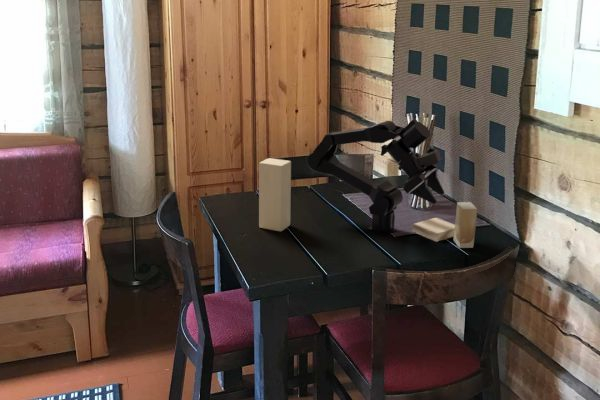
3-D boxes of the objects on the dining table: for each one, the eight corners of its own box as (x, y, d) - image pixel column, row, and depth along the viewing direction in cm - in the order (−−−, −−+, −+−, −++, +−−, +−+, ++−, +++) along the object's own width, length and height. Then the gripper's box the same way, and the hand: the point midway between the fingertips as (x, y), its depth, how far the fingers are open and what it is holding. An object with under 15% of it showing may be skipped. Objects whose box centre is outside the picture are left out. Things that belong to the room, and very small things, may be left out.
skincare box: (452, 240, 205) (456, 201, 201) (467, 240, 205) (470, 201, 201) (459, 248, 199) (462, 208, 195) (474, 248, 199) (477, 208, 195)
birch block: (436, 243, 204) (436, 233, 203) (412, 233, 212) (413, 223, 211) (459, 235, 209) (460, 226, 208) (435, 226, 217) (436, 217, 216)
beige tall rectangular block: (292, 224, 217) (292, 160, 210) (281, 231, 211) (281, 165, 204) (269, 220, 220) (269, 157, 214) (258, 227, 214) (257, 162, 207)
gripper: (416, 147, 190) (453, 191, 189) (433, 133, 206) (467, 173, 205) (387, 171, 195) (423, 214, 194) (406, 156, 211) (439, 195, 210)
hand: (439, 198), depth 201 cm, fingers open, 9 cm apart
